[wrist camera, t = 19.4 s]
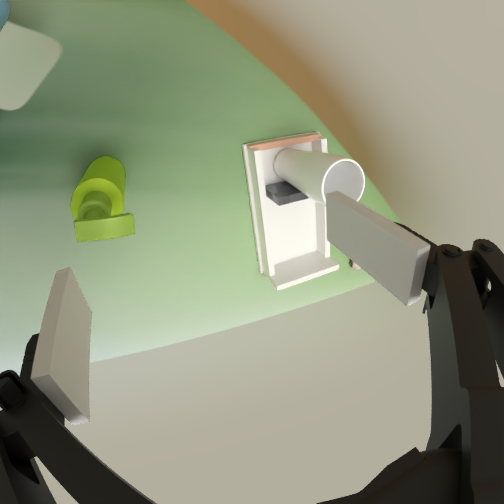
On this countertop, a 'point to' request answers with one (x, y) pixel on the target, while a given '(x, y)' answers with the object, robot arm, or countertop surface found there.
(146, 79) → the countertop surface
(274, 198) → the pusher plate
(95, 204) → the soap dispenser
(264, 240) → the pusher lane
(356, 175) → the white tumbler cup
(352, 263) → the clam shell
